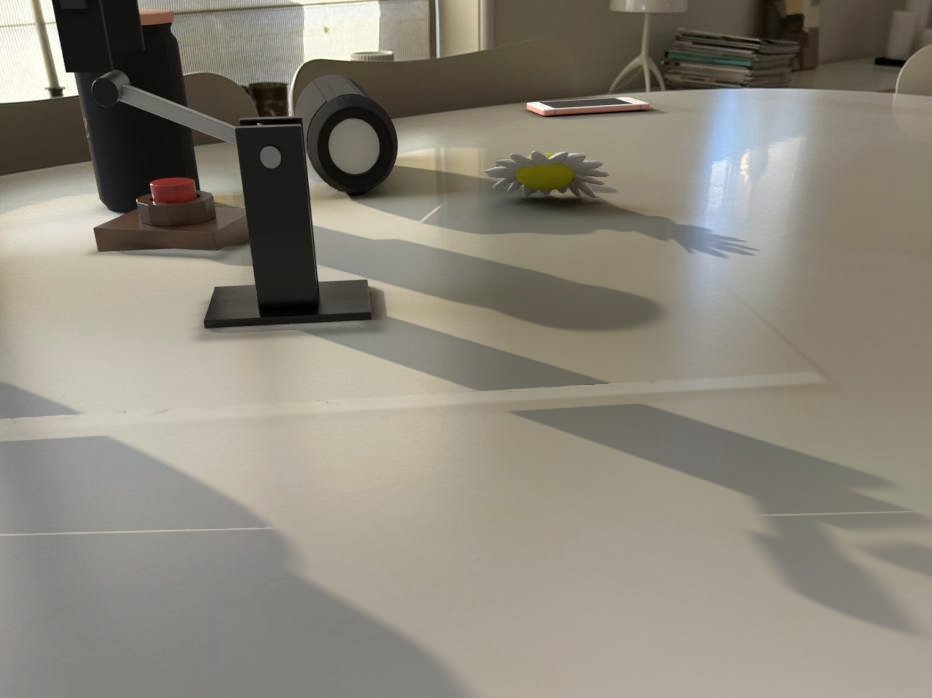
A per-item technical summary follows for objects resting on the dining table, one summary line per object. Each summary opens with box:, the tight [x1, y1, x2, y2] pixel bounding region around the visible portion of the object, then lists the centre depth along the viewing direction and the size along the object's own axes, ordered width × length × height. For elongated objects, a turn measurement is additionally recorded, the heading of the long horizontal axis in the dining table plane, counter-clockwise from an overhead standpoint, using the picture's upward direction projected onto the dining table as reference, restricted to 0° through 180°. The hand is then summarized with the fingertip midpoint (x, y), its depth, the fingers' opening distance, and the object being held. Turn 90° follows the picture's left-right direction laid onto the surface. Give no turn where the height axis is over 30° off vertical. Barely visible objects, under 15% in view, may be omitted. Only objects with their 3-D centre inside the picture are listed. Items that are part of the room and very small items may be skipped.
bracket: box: [203, 115, 373, 329], centre depth 77 cm, size 12×9×13 cm
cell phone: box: [526, 96, 650, 116], centre depth 170 cm, size 9×18×1 cm, turn 106°
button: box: [150, 178, 197, 203], centre depth 98 cm, size 4×4×2 cm
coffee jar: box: [73, 8, 201, 215], centre depth 110 cm, size 11×11×18 cm
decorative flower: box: [483, 150, 610, 199], centre depth 117 cm, size 13×5×30 cm
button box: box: [92, 189, 249, 253], centre depth 99 cm, size 12×10×4 cm
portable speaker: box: [294, 73, 399, 195], centre depth 123 cm, size 26×10×10 cm, turn 12°
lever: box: [92, 70, 263, 146], centre depth 73 cm, size 13×5×2 cm, turn 96°
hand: (109, 61), depth 70 cm, fingers open, 13 cm apart
